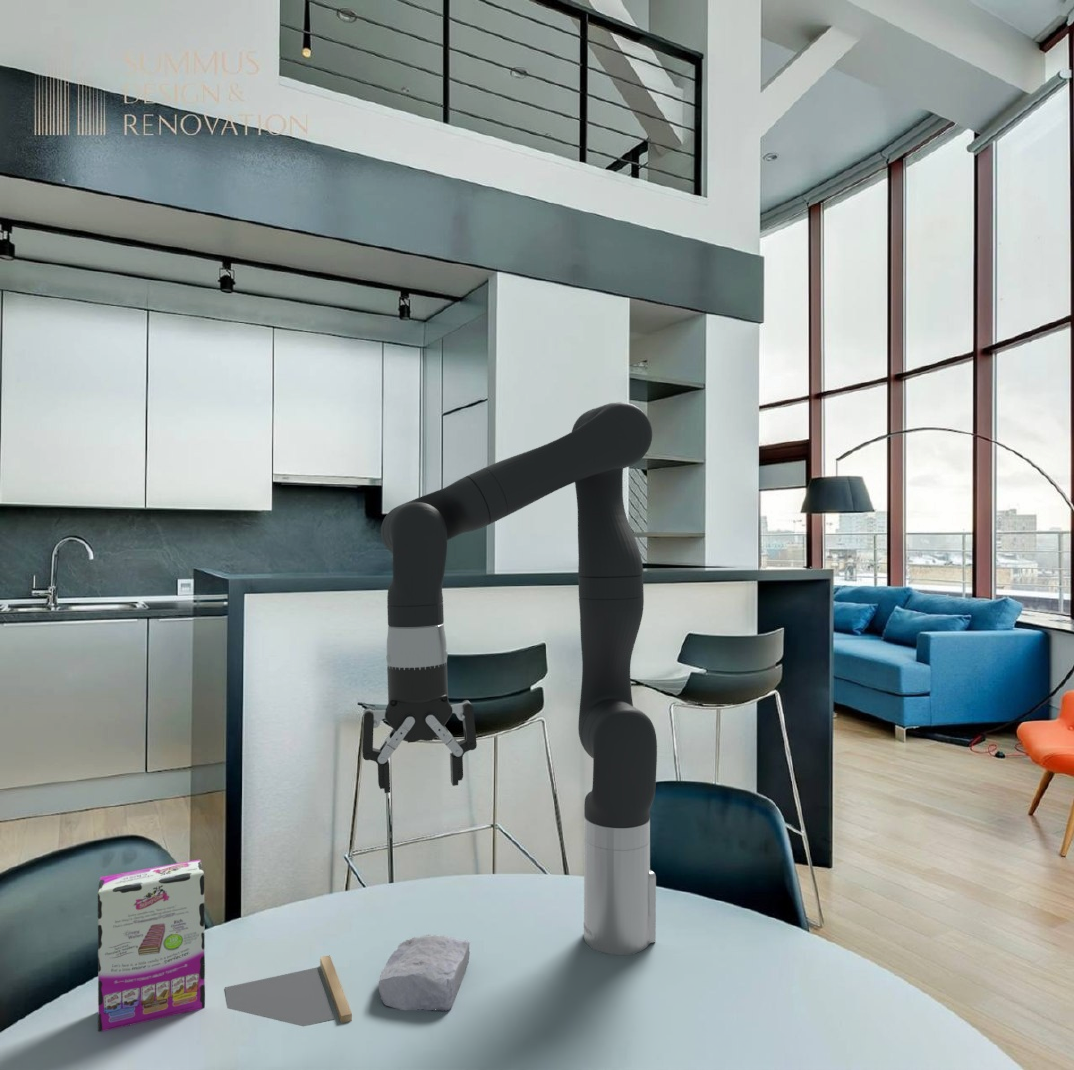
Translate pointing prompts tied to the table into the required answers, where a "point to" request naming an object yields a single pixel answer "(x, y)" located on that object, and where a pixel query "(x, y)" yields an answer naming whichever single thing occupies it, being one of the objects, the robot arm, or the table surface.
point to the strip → (335, 989)
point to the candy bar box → (150, 944)
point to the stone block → (424, 973)
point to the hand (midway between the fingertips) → (421, 787)
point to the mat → (283, 998)
